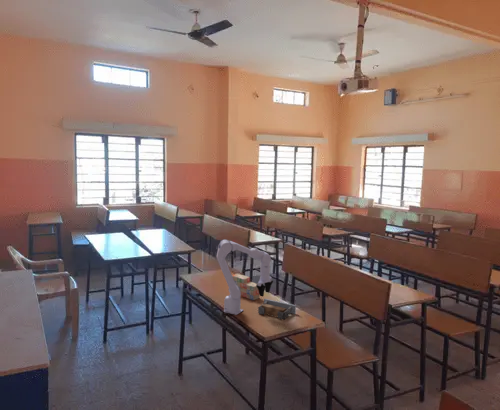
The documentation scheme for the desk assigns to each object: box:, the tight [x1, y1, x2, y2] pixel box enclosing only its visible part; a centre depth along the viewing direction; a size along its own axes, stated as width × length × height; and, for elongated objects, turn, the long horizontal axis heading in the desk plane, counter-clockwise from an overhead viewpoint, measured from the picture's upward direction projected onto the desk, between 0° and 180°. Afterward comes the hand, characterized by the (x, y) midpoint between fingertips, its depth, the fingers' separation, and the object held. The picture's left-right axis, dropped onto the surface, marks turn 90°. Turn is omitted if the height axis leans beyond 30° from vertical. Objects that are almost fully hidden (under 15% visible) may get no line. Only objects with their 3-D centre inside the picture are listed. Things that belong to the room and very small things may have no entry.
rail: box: [261, 303, 286, 317], centre depth 228 cm, size 14×4×5 cm, turn 60°
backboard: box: [263, 298, 297, 315], centre depth 234 cm, size 21×5×5 cm, turn 60°
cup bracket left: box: [257, 302, 266, 316], centre depth 232 cm, size 4×7×4 cm, turn 150°
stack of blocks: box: [232, 273, 260, 301], centre depth 260 cm, size 21×6×12 cm, turn 46°
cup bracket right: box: [277, 308, 290, 320], centre depth 225 cm, size 4×7×4 cm, turn 150°
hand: (264, 294), depth 234 cm, fingers open, 7 cm apart
